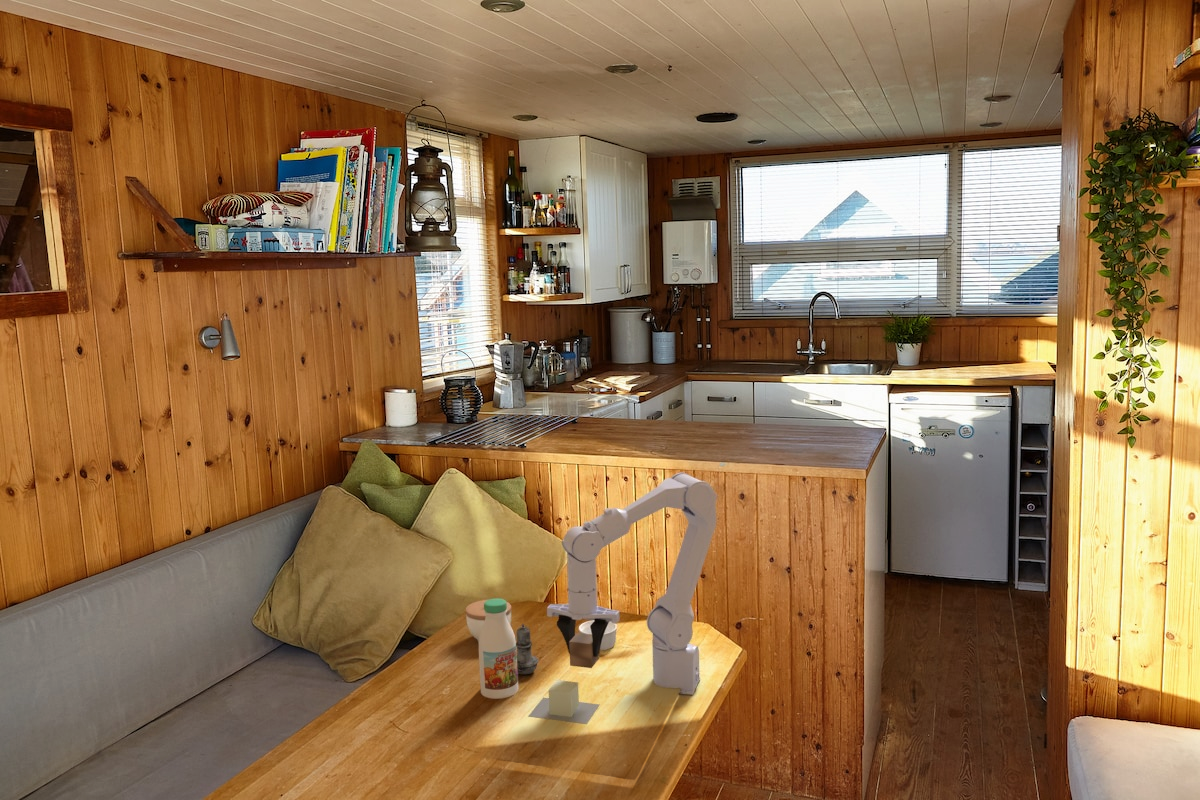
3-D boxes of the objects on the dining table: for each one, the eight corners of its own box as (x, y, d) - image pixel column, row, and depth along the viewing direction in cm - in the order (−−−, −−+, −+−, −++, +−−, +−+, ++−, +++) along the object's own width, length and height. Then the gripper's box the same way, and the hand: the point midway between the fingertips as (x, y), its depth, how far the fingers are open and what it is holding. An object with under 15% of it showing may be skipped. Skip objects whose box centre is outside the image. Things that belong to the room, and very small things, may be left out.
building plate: (599, 709, 186) (599, 704, 186) (587, 728, 178) (586, 723, 178) (543, 702, 189) (543, 697, 189) (528, 721, 182) (528, 716, 182)
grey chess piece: (535, 683, 198) (532, 629, 196) (508, 681, 199) (505, 628, 197) (542, 671, 204) (539, 618, 202) (516, 669, 205) (513, 617, 203)
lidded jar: (521, 634, 224) (520, 597, 222) (493, 651, 215) (491, 612, 213) (486, 626, 229) (484, 589, 228) (457, 642, 221) (455, 604, 219)
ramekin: (574, 650, 214) (573, 632, 213) (585, 635, 223) (585, 617, 222) (611, 654, 212) (610, 635, 211) (621, 638, 220) (621, 621, 219)
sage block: (578, 706, 185) (578, 682, 184) (571, 717, 181) (570, 692, 180) (557, 703, 186) (556, 679, 186) (549, 714, 182) (548, 690, 182)
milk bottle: (473, 698, 192) (468, 605, 189) (494, 683, 199) (490, 592, 196) (505, 706, 188) (500, 611, 185) (525, 690, 195) (521, 598, 192)
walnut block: (598, 658, 189) (598, 635, 188) (591, 668, 184) (590, 644, 184) (577, 656, 190) (576, 632, 189) (570, 665, 186) (569, 641, 185)
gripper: (540, 591, 183) (542, 657, 185) (611, 598, 179) (612, 665, 181) (553, 579, 190) (555, 643, 192) (622, 585, 186) (623, 651, 188)
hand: (584, 653), depth 187 cm, fingers closed on walnut block, 4 cm apart
